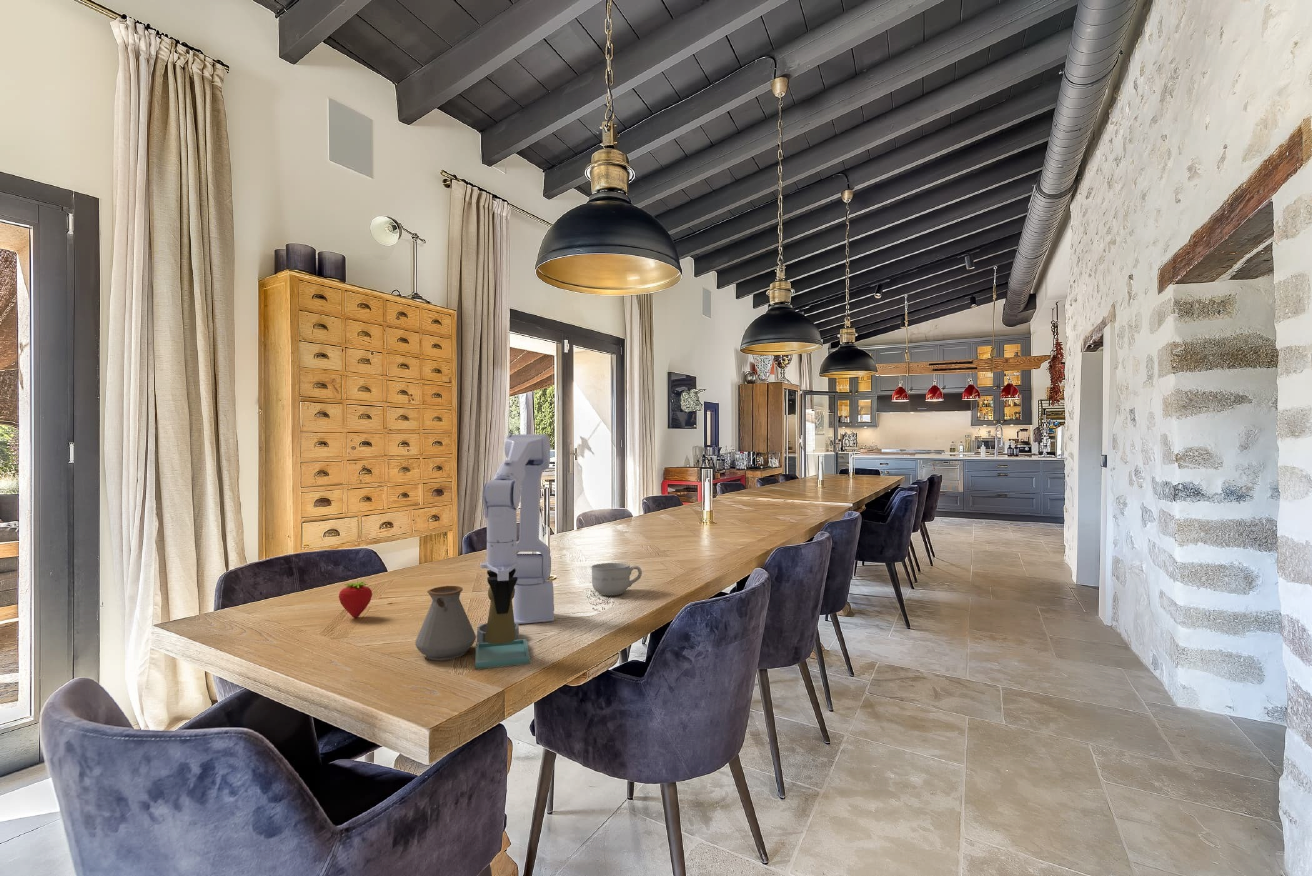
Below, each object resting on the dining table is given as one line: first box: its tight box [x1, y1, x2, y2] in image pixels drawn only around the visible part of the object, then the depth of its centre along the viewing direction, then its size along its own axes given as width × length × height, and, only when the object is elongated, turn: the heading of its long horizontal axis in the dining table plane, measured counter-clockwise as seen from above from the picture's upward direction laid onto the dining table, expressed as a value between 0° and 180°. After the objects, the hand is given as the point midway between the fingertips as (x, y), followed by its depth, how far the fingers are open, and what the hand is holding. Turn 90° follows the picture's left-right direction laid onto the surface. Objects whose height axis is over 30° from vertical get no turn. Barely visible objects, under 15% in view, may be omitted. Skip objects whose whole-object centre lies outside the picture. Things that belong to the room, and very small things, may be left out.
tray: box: [474, 638, 531, 670], centre depth 119 cm, size 10×11×1 cm
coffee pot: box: [415, 585, 477, 661], centre depth 116 cm, size 21×12×15 cm, turn 14°
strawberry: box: [338, 581, 373, 619], centre depth 145 cm, size 6×8×10 cm
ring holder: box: [476, 622, 520, 643], centre depth 130 cm, size 9×9×2 cm
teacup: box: [590, 562, 643, 596], centre depth 167 cm, size 14×11×8 cm
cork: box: [485, 586, 516, 644], centre depth 119 cm, size 6×6×11 cm
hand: (501, 609), depth 119 cm, fingers closed on cork, 5 cm apart
